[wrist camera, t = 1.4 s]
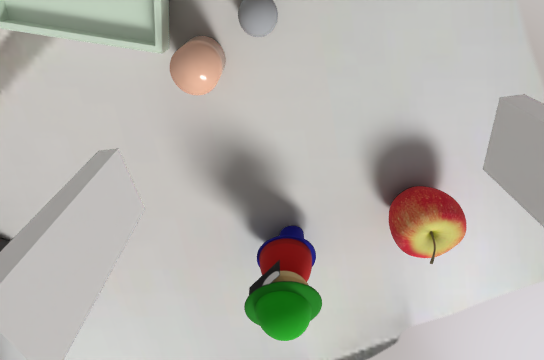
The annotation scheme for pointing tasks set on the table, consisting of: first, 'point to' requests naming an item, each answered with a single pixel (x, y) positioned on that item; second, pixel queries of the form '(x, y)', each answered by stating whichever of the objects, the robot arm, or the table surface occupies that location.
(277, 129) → the table surface
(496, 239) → the table surface
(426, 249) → the apple
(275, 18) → the grey ball
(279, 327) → the toy
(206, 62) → the peach rounded cylinder
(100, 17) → the tray
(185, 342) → the table surface
